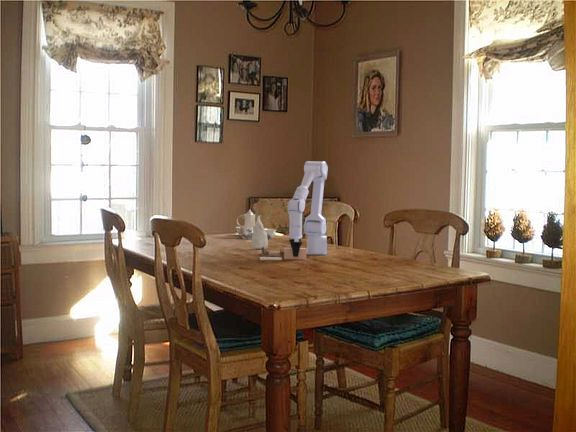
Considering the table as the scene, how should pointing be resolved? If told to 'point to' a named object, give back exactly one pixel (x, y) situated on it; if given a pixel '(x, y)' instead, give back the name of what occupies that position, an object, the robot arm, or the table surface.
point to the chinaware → (251, 227)
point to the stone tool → (259, 236)
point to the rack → (266, 253)
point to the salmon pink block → (289, 254)
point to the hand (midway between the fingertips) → (295, 255)
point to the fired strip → (270, 258)
